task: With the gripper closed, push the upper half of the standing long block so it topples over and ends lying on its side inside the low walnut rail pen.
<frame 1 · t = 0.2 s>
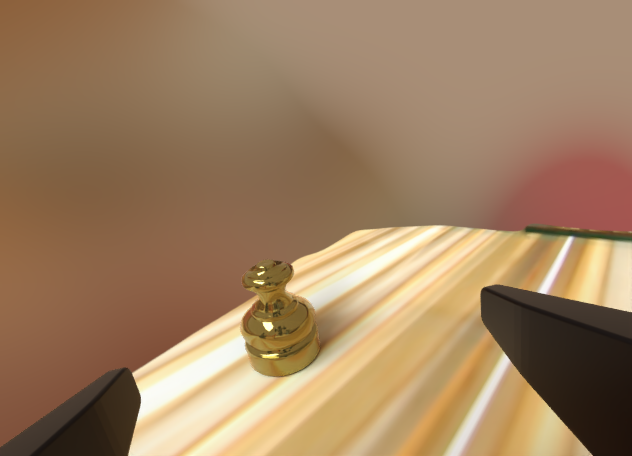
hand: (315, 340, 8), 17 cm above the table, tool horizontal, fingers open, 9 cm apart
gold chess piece: (285, 353, 34), on the table
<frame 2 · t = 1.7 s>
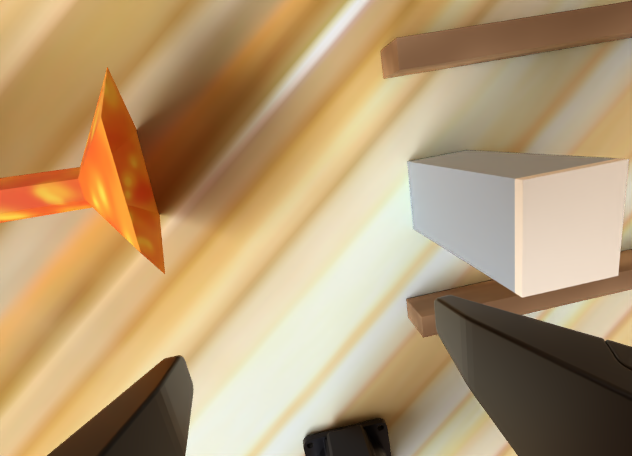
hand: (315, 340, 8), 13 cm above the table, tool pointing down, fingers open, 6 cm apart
rail pen: (553, 168, 22), on the table
long block: (439, 190, 22), on the table
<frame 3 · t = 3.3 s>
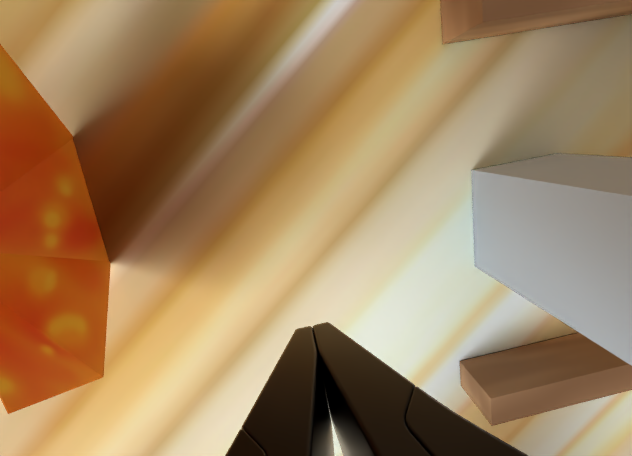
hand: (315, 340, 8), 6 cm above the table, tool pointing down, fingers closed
long block: (514, 211, 15), on the table
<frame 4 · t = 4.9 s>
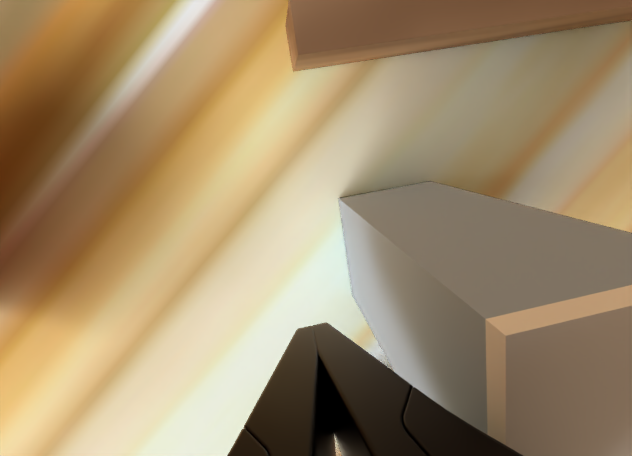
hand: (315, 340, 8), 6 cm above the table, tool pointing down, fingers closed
rail pen: (558, 206, 15), on the table
long block: (390, 240, 14), on the table, touching gripper
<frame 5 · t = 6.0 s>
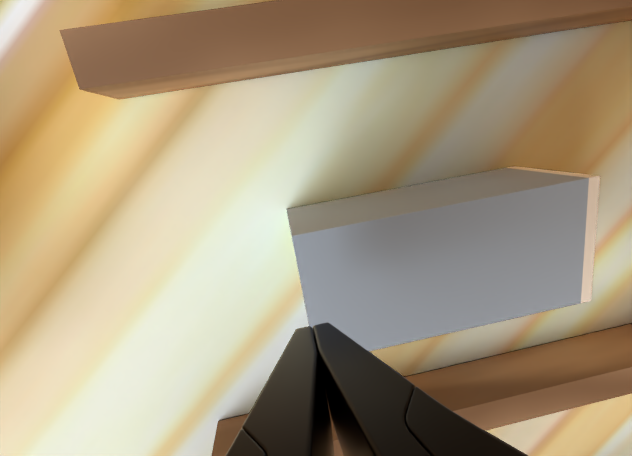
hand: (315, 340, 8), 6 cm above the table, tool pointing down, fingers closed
rail pen: (428, 233, 15), on the table
long block: (299, 277, 12), point 2 cm above the table, tilted 90°
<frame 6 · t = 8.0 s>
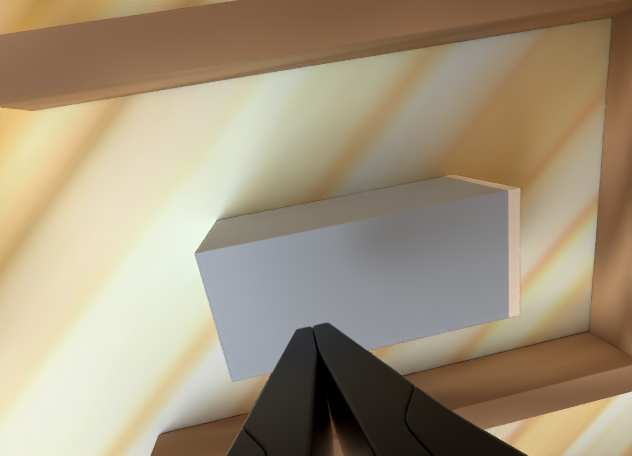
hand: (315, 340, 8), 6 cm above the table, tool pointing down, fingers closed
rail pen: (366, 243, 14), on the table
long block: (223, 292, 12), point 2 cm above the table, tilted 90°
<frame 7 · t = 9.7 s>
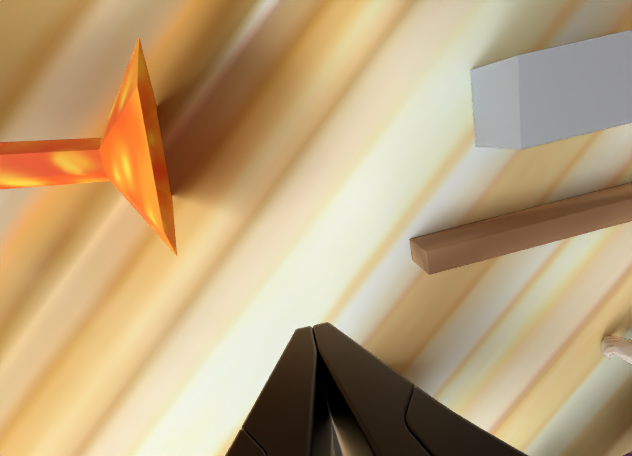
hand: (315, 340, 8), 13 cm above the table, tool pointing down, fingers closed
rail pen: (562, 88, 21), on the table
toy: (608, 412, 30), on the table
long block: (493, 107, 18), point 2 cm above the table, tilted 90°
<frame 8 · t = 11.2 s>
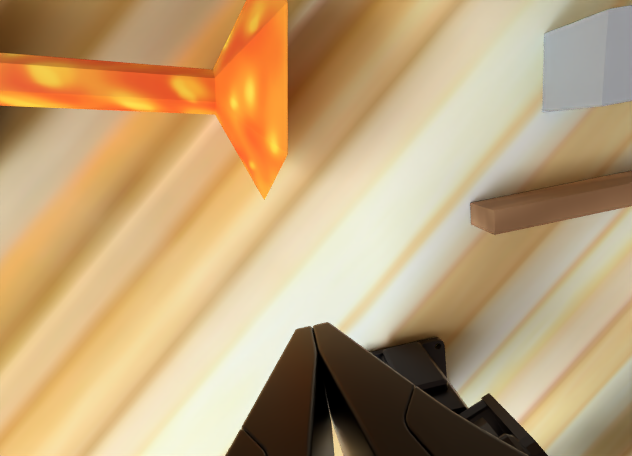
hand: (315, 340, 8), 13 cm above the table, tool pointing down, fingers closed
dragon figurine: (31, 95, 18), on the table
rail pen: (630, 58, 21), on the table
long block: (570, 67, 19), point 2 cm above the table, tilted 90°
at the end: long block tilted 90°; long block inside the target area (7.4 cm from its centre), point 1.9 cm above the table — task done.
